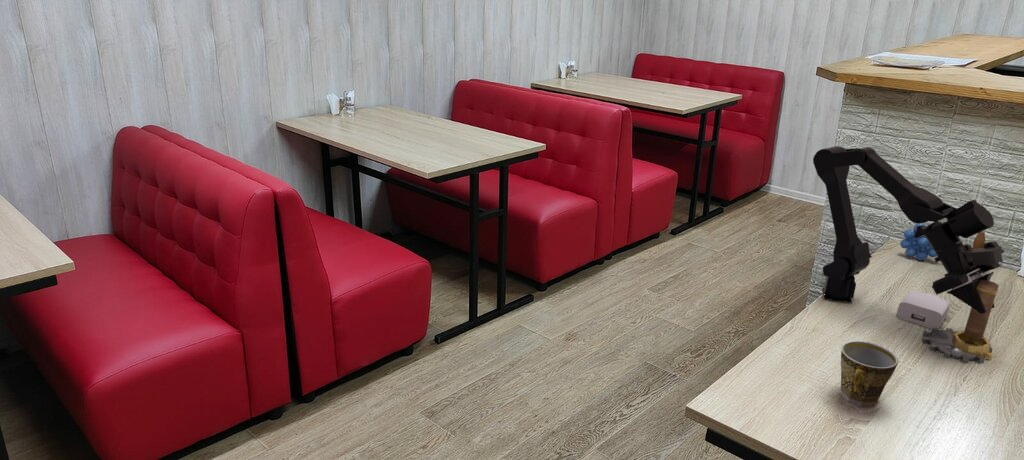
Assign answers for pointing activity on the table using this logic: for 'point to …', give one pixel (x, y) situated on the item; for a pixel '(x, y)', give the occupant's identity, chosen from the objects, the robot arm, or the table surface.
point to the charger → (923, 309)
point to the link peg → (976, 319)
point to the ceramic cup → (865, 372)
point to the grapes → (917, 245)
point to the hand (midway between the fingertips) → (988, 310)
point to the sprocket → (958, 345)
